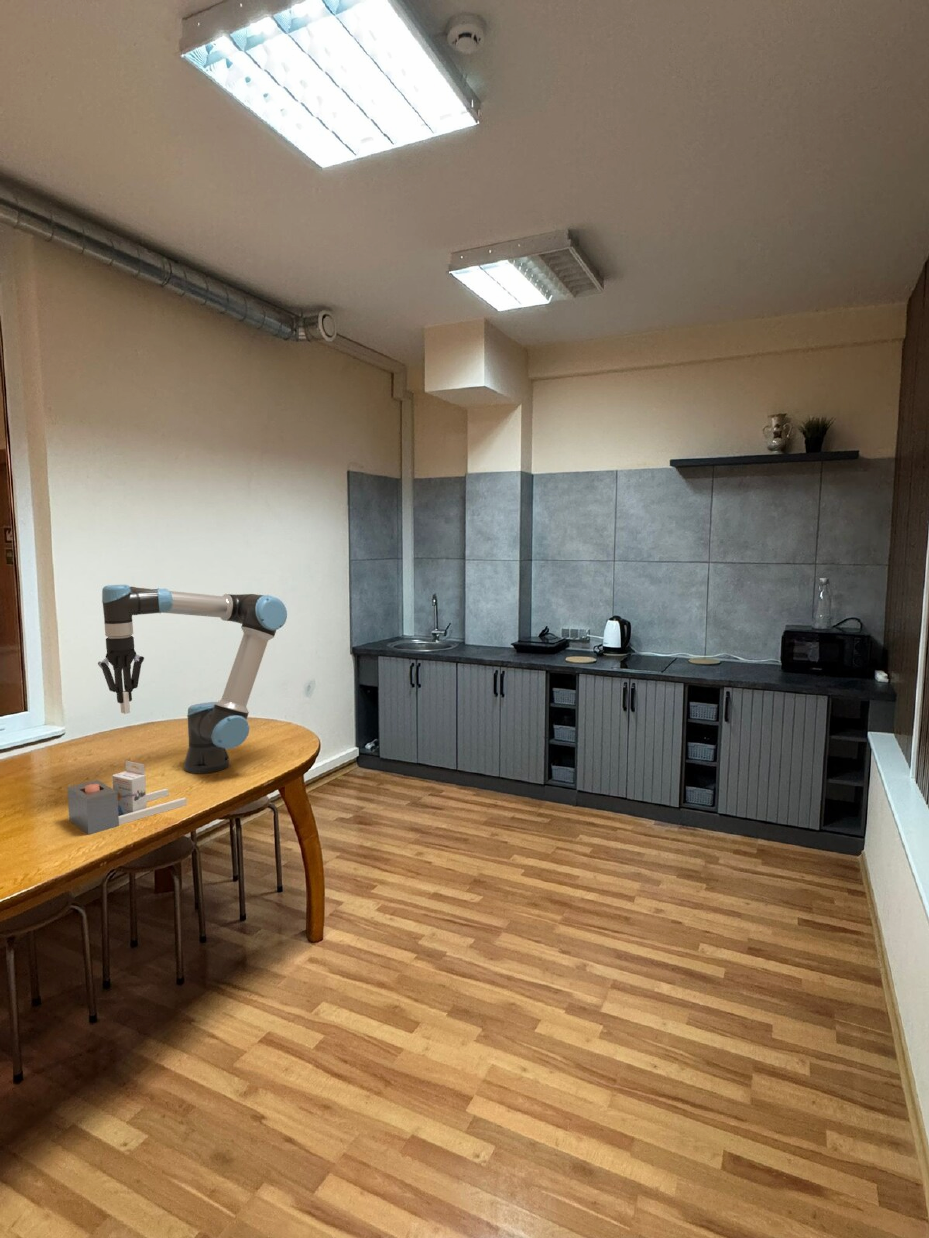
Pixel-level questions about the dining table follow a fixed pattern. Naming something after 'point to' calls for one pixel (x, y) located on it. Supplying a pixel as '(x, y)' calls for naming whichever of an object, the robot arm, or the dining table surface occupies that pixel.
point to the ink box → (130, 788)
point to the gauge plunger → (91, 788)
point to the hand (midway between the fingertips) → (125, 712)
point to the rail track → (153, 807)
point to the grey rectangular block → (93, 807)
